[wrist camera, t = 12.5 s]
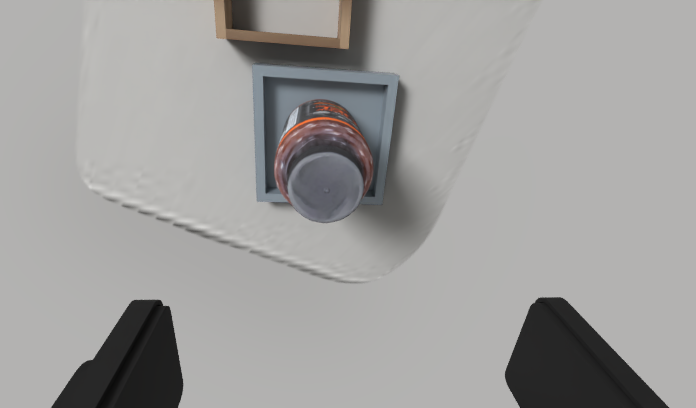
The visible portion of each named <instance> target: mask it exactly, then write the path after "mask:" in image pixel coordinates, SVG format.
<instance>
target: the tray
mask: <svg viewBox="0 0 696 408" xmlns="http://www.w3.org/2000/svg"><path fill="white" fill-rule="evenodd" d="M252 72H253V102H254V132H255V162H256V192H257V201H258V202H288V201H287V200H286V199H285V198H284V197H283V195H282V194H281V192H280V190H279V188H278V186H277V184H276V180H275V176H274V162H275V156H276V152H277V149H278V145H279V142H280V139H281V135H282V132H283V128H284V125H285V123H286V120H287V119H288V117H289V116H290V114H291V113H292V112H293V110H295V109H296V108H297V107H298V106H300V105H301V104H303V103H305V102H307V101H310V100H315V99H325V100H330V101H334V102H336V103H338V104H340V105H341V106H343V107H344V108H345V109H346V110H347V111H348V112H349V113H350V114H351V115H352V116H353V118H354V120H355V121H356V123H357V125H358V127H359V129H360V131H361V133H362V135H363V136H364V138H365V140H366V142H367V144H368V146H369V149H370V151H371V154H372V158H373V169H374V170H373V178H372V181H371V184H370V187H369V189H368V191H367V193H366V194H365V196H364V197H363V198H362V199H361V201H360V203H359V204H368V205H382V202H383V195H384V187H385V179H386V172H387V164H388V157H389V149H390V141H391V134H392V126H393V118H394V111H395V103H396V95H397V88H398V80H399V75H397V74H394V73H384V72H371V71H357V70H344V69H331V68H317V67H304V66H291V65H277V64H264V63H255V64H253V65H252Z"/></svg>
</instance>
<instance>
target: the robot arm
mask: <svg viewBox="0 0 696 408" xmlns="http://www.w3.org/2000/svg"><path fill="white" fill-rule="evenodd" d="M505 379H506V382H507V385H508V387H509V389H510V391H511V392H512V394H513V396H514V398H515V399H516V401H517V403H518V405H519V406H520V408H669V407H668V406H667V405H666V404H665V403H664V402H663V401H662V400H661V399H660V398H659V397H658V396H657V395H656V394H655V392H654V391H653V390H652V389H651V388H650V387H649V386H648V385H647V384H646V383H645V382H644V381H643V380H642V379H641V378H640V377H639V376H638V375H637V374H636V373H635V372H634V371H633V370H632V368H631V367H629V365H627V363H626V362H625V361H624V360H623V359H622V358H621V357H620V356H619V355H618V354H617V353H616V352H615V351H614V350H613V349H612V348H611V347H610V346H609V345H608V344H607V343H606V341H605V340H604V339H603V338H602V337H601V336H600V335H599V334H598V333H597V332H596V331H595V330H594V329H593V328H592V327H591V326H590V325H589V324H588V323H587V322H586V321H585V319H584V318H582V316H580V314H579V313H578V312H577V311H576V310H575V309H574V308H573V307H572V306H571V305H570V304H569V303H568V302H567V301H566V300H565V299H563V298H560V297H559V298H558V297H557V298H538V299H537V300H536V302H535V303H533V304H532V305H531V306H530V309H529V311H528V314H527V316H526V319H525V322H524V324H523V327H522V329H521V332H520V335H519V337H518V340H517V343H516V345H515V348H514V350H513V353H512V355H511V358H510V361H509V363H508V366H507V368H506V371H505ZM182 391H183V379H182V373H181V367H180V361H179V355H178V350H177V344H176V338H175V333H174V328H173V321H172V316H171V310H170V307H169V306H163V304H162V302H161V300H134V301H132V302H131V303H130V304H129V306H128V307H127V309H126V310H125V312H124V313H123V315H122V316H121V318H120V319H119V321H118V323H117V324H116V325H115V327H114V329H113V330H112V332H111V333H110V335H109V336H108V338H107V339H106V341H105V342H104V344H103V345H102V347H101V349H100V350H99V351H98V353H97V354H96V356H95V358H94V359H93V360H89V361H86V362H85V363H83V364H82V365H81V366H80V367H79V368H78V369H77V371H76V372H75V373H74V375H73V376H72V378H71V379H70V381H69V382H68V384H67V385H66V387H65V388H64V390H63V391H62V393H61V394H60V395H59V397H58V398H57V400H56V401H55V403H54V404H53V406H52V408H178V405H179V402H180V400H181V396H182Z"/></svg>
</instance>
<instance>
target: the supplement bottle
mask: <svg viewBox="0 0 696 408" xmlns="http://www.w3.org/2000/svg"><path fill="white" fill-rule="evenodd" d="M373 170H374V169H373V158H372V154H371V151H370V149H369V146H368V144H367V142H366V140H365V138H364V136H363V135H362V133H361V131H360V129H359V127H358V125H357V123H356V121H355V120H354V118H353V116H352V115H351V114H350V113H349V112H348V111H347V110H346V109H345V108H344V107H343V106H341V105H340V104H338V103H336V102H334V101H330V100H325V99H315V100H310V101H307V102H305V103H303V104H301V105H300V106H298V107H297V108H296V109H295V110H293V112H292V113H291V114H290V116H289V117H288V119H287V120H286V123H285V125H284V128H283V132H282V135H281V139H280V142H279V145H278V149H277V152H276V156H275V162H274V176H275V180H276V184H277V186H278V188H279V190H280V192H281V194H282V195H283V197H284V198H285V199H286V200H287V201H288V202H289V203H290V204H291V205H292V206H294V208H295V209H296V211H297V212H299V213H300V214H301V215H302V216H304V217H305V218H307V219H309V220H311V221H315V222H320V223H330V222H335V221H339V220H341V219H344V218H345V217H347V216H349V215H350V214H351V213H352V212H353V211H354V210H355V209H356V208H357V206H358V205H359V203H360V201H361V199H362V198H363V197H364V196H365V194H366V193H367V191H368V189H369V187H370V184H371V181H372V178H373Z"/></svg>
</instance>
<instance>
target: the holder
mask: <svg viewBox="0 0 696 408" xmlns="http://www.w3.org/2000/svg"><path fill="white" fill-rule="evenodd" d="M351 7H352V0H340V4H339V21H338V37H337V38H328V37H316V36H305V35H293V34H281V33H270V32H258V31H246V30H235V29H233V21H232V1H231V0H214V8H215V22H216V36H217V38H220V39H232V40H244V41H256V42H269V43H281V44H293V45H305V46H317V47H329V48H341V49H349V35H350V21H351Z"/></svg>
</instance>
